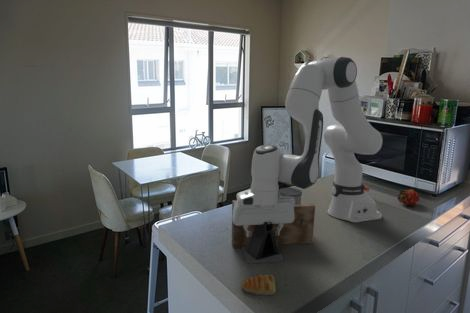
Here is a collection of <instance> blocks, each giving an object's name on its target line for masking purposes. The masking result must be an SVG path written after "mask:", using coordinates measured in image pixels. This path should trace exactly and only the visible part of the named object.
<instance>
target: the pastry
mask: <svg viewBox="0 0 470 313" xmlns="http://www.w3.org/2000/svg"><path fill="white" fill-rule="evenodd" d="M241 288H242V290H243V291H244V292H246V293H251V294H255V295H263V296H265V295H267V296H271V295H272V296H273V295H275V293H276V291H277V289H276V282H275V276H274V275H273V274H269V275H268V274H257V275H255V276H249V277H248V278H246V279H244V280H242V283H241Z"/></svg>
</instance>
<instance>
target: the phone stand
mask: <svg viewBox="0 0 470 313" xmlns="http://www.w3.org/2000/svg"><path fill="white" fill-rule="evenodd" d="M269 223H271V222H269ZM264 244H265V246H264ZM247 252H249V253H250V254H251V255H252V256H253V257H254V258H255V259H256V260H258V259H262V258H266V257H269V256H273V255H277V254H279V252H280V251H279V247H278V244H277V243H276V240H275V237H274V233H273V224H272V223H271V224H268V222H264V223H263V224H262V225H256V226H255V229H254V232H253V235H252V237H251V240H250V243H249V246H248V249H247Z"/></svg>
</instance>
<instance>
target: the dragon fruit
mask: <svg viewBox="0 0 470 313" xmlns="http://www.w3.org/2000/svg"><path fill="white" fill-rule="evenodd" d="M397 200H398V202H399V203H402V204H403V203H404V204H405V205H408V206H411V205H414V206H413V207H415V206H416V204H417V202H419V201H420V197H419V194H418V192H417V191H415V190H414V189H413V188H412V189H408V188H407V189H405V190H400V191H399V194H398V197H397ZM405 205H404V206H405Z"/></svg>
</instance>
